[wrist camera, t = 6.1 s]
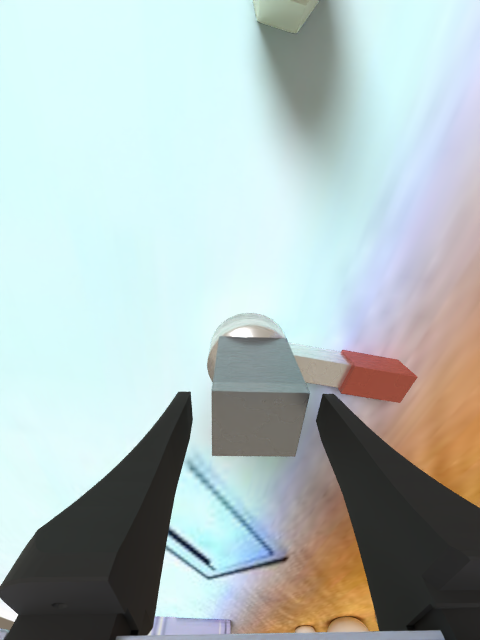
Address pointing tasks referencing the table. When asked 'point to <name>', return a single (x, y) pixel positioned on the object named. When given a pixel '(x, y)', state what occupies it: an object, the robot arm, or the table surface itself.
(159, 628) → the gaming console
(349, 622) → the cosmetic set
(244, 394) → the brushed metal block
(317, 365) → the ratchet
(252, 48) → the table surface
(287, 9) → the valve
